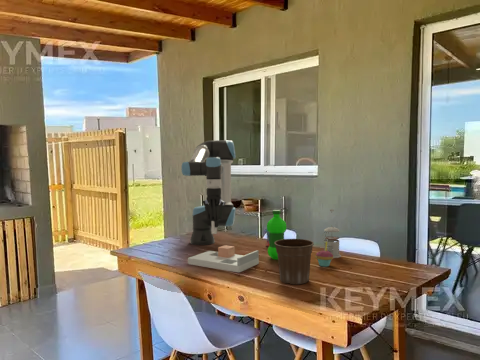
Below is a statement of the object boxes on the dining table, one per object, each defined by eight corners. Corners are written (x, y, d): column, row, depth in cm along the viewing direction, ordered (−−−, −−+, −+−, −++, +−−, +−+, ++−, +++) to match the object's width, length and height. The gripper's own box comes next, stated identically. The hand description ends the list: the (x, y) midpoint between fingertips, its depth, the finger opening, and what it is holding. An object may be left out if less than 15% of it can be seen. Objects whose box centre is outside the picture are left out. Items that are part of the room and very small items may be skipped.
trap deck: (187, 263, 187) (187, 250, 187) (209, 256, 202) (209, 244, 202) (239, 272, 171) (239, 258, 171) (258, 263, 186) (258, 250, 186)
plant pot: (287, 288, 148) (287, 248, 148) (267, 277, 163) (267, 240, 162) (321, 283, 155) (321, 244, 154) (300, 273, 170) (299, 237, 169)
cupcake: (321, 262, 188) (321, 238, 187) (337, 265, 182) (337, 240, 181) (311, 265, 182) (311, 240, 181) (327, 268, 176) (327, 243, 175)
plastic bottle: (290, 257, 197) (290, 210, 196) (278, 261, 189) (278, 212, 188) (275, 254, 204) (274, 208, 203) (263, 258, 196) (262, 210, 195)
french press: (330, 258, 194) (329, 210, 194) (316, 254, 205) (316, 208, 204) (345, 256, 199) (345, 209, 198) (331, 252, 209) (331, 207, 208)
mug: (261, 246, 226) (261, 228, 226) (271, 243, 233) (271, 226, 232) (277, 249, 218) (277, 230, 217) (287, 246, 224) (287, 228, 224)
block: (218, 256, 190) (218, 247, 189) (224, 253, 195) (224, 245, 194) (228, 257, 186) (228, 248, 186) (234, 255, 191) (234, 246, 191)
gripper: (199, 187, 194) (199, 233, 195) (220, 188, 187) (220, 235, 188) (207, 187, 200) (208, 231, 201) (228, 187, 193) (228, 233, 194)
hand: (214, 233), depth 194 cm, fingers closed
